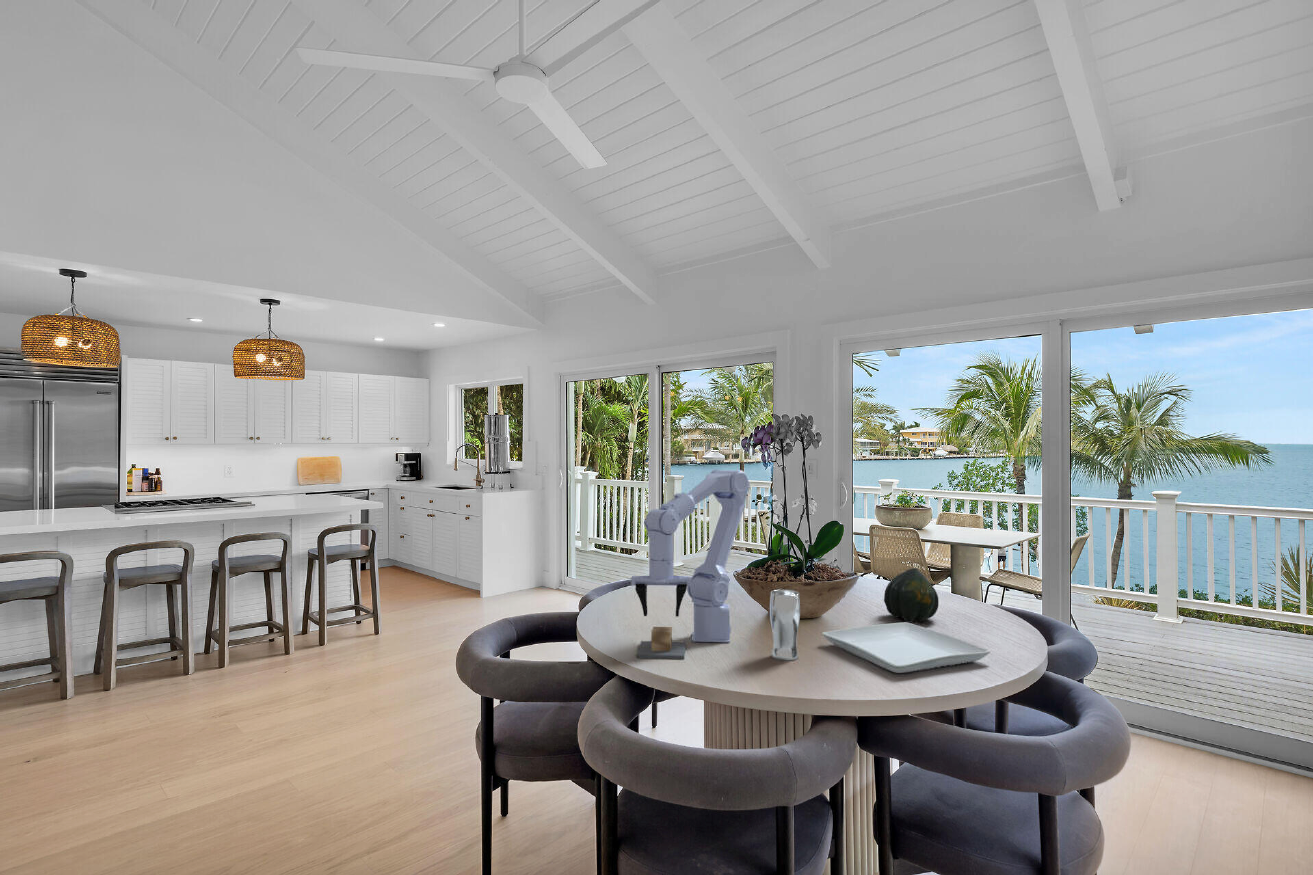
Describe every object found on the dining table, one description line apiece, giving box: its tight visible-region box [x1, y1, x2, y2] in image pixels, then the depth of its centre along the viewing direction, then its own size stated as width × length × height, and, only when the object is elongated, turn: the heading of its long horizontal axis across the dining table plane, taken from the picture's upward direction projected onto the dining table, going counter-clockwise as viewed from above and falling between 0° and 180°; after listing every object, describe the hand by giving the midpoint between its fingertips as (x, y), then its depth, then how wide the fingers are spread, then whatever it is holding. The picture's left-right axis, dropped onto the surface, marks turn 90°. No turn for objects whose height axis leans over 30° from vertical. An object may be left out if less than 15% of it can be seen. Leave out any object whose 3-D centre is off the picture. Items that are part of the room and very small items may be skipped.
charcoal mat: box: [636, 640, 686, 660], centre depth 160 cm, size 11×11×1 cm
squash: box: [883, 567, 939, 623], centre depth 190 cm, size 14×15×15 cm
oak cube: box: [650, 626, 673, 651], centre depth 160 cm, size 4×4×4 cm
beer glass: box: [769, 589, 801, 662], centre depth 156 cm, size 7×7×15 cm
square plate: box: [822, 621, 991, 674], centre depth 157 cm, size 27×27×4 cm
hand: (661, 615), depth 161 cm, fingers open, 7 cm apart
